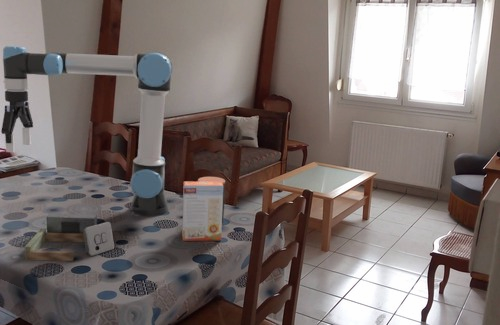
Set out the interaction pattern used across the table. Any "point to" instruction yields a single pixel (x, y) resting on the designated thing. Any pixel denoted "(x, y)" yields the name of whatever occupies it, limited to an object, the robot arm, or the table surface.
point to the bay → (36, 254)
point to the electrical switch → (98, 238)
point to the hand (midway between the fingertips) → (18, 148)
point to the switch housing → (69, 222)
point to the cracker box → (202, 211)
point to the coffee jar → (215, 179)
